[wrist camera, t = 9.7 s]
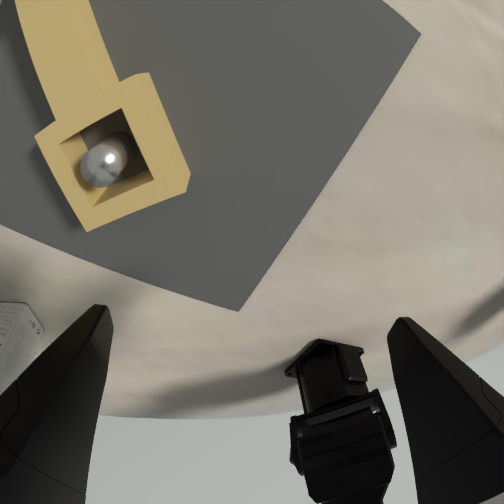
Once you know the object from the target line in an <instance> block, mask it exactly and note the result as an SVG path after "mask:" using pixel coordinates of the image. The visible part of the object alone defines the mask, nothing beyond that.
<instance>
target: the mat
mask: <svg viewBox="0 0 504 504" xmlns="http://www.w3.org/2000/svg"><path fill="white" fill-rule="evenodd" d="M89 3H90V6H91V9H92V12H93V14H94V17H95V20H96V23H97V26H98V28H99V31H100V34H101V36H102V39H103V42H104V44H105V47H106V49H107V52H108V55H109V57H110V60H111V62H112V65H113V67H114V70H115V72H116V75H117V77H118V80H119V82H121V81H123V80H125V79H127V78H129V77H131V76H133V75H135V74H141V73H148V72H149V74H150V76H151V79H152V81H153V84H154V86H155V89H156V91H157V94H158V96H159V99H160V101H161V103H162V106H163V108H164V111H165V113H166V116H167V118H168V120H169V123H170V125H171V128H172V130H173V133H174V135H175V137H176V140H177V142H178V144H179V147H180V149H181V152H182V154H183V156H184V159H185V161H186V163H187V166H188V168H189V170H190V173H191V175H190V178H189V182H188V186H187V189H186V192H185V193H182V194H180V195H177V196H174V197H171V198H169V199H166V200H163V201H161V202H158V203H156V204H153V205H151V206H148V207H145V208H143V209H140V210H138V211H135V212H133V213H130V214H128V215H126V216H123V217H121V218H118V219H116V220H114V221H111V222H109V223H107V224H104V225H102V226H100V227H97V228H95V229H93V230H91V231H88V232H86V230H85V229H84V227H83V225H82V224H81V222H80V221H79V219H78V217H77V216H76V214H75V212H74V211H73V209H72V207H71V206H70V204H69V202H68V200H67V199H66V197H65V195H64V193H63V192H62V190H61V188H60V186H59V184H58V182H57V181H56V179H55V177H54V175H53V173H52V171H51V169H50V167H49V165H48V163H47V162H46V160H45V158H44V156H43V154H42V151H41V149H40V147H39V145H38V143H37V141H36V139H35V137H34V136H35V135H36V134H38V133H39V132H40V131H42V130H43V129H44V128H46V127H47V126H49V125H50V124H51V123H53V122H54V121H56V119H55V117H54V115H53V112H52V110H51V108H50V105H49V103H48V100H47V98H46V96H45V93H44V91H43V88H42V86H41V83H40V80H39V78H38V75H37V72H36V70H35V67H34V64H33V61H32V58H31V55H30V52H29V49H28V46H27V43H26V40H25V37H24V34H23V30H22V27H21V23H20V20H19V16H18V12H17V8H16V4H15V0H2V3H1V5H0V224H2V225H4V226H6V227H8V228H10V229H13V230H15V231H17V232H19V233H22V234H24V235H26V236H28V237H31V238H33V239H35V240H38V241H40V242H42V243H45V244H47V245H49V246H52V247H54V248H57V249H59V250H62V251H64V252H67V253H69V254H71V255H74V256H77V257H79V258H82V259H84V260H87V261H89V262H92V263H95V264H97V265H100V266H102V267H105V268H108V269H110V270H113V271H116V272H119V273H121V274H124V275H127V276H130V277H132V278H135V279H138V280H141V281H144V282H147V283H150V284H153V285H155V286H158V287H161V288H164V289H167V290H170V291H173V292H176V293H179V294H182V295H186V296H189V297H192V298H195V299H198V300H201V301H205V302H208V303H211V304H214V305H218V306H221V307H224V308H227V309H231V310H234V311H238V312H239V310H240V309H241V308H242V306H243V305H244V303H245V302H246V301H247V299H248V298H249V296H250V295H251V293H252V292H253V291H254V289H255V288H256V286H257V285H258V283H259V282H260V281H261V279H262V278H263V276H264V275H265V273H266V272H267V270H268V269H269V268H270V266H271V265H272V263H273V262H274V260H275V259H276V257H277V256H278V255H279V253H280V252H281V250H282V249H283V247H284V246H285V244H286V243H287V241H288V240H289V239H290V237H291V236H292V234H293V233H294V231H295V230H296V228H297V227H298V225H299V224H300V222H301V221H302V219H303V218H304V216H305V215H306V213H307V212H308V210H309V209H310V207H311V206H312V205H313V203H314V202H315V200H316V199H317V197H318V196H319V194H320V193H321V191H322V190H323V188H324V187H325V185H326V184H327V182H328V180H329V179H330V177H331V176H332V174H333V173H334V171H335V170H336V168H337V167H338V165H339V164H340V162H341V161H342V159H343V158H344V156H345V155H346V153H347V152H348V150H349V148H350V147H351V145H352V144H353V142H354V141H355V139H356V138H357V136H358V135H359V133H360V131H361V130H362V128H363V127H364V125H365V124H366V122H367V121H368V119H369V117H370V116H371V114H372V113H373V111H374V110H375V108H376V106H377V105H378V103H379V102H380V100H381V98H382V97H383V95H384V94H385V92H386V90H387V89H388V87H389V86H390V84H391V82H392V81H393V79H394V78H395V76H396V74H397V73H398V71H399V70H400V68H401V66H402V65H403V63H404V61H405V60H406V58H407V57H408V55H409V53H410V52H411V50H412V48H413V47H414V45H415V43H416V42H417V40H418V38H419V37H420V35H421V33H420V32H419V31H418V30H417V29H415V28H414V27H413V26H412V25H411V24H410V23H409V22H408V21H407V20H405V19H404V18H403V17H402V16H401V15H400V14H398V13H397V12H396V11H395V10H394V9H392V8H391V7H390V6H389V5H387V4H386V3H385V2H384V1H382V0H89ZM117 131H123V132H126V133H128V134H130V135H131V136H132V137H133V139H134V140H135V143H136V153H135V155H134V157H133V158H132V159H131V161H130V162H129V163H128V164H127V165H126V167H125V168H124V169H123V170H122V171H121V173H120V174H119V175H118V176H117V177H116V179H115V180H114V181H113V182H112V183H111V184H110V185H108V186H106V187H107V188H108V187H110V186H112V185H114V184H116V183H118V182H120V181H123V180H125V179H127V178H129V177H131V176H134V175H136V174H138V173H141V172H143V171H145V170H148V169H149V168H148V165H147V163H146V161H145V159H144V157H143V155H142V153H141V150H140V148H139V146H138V144H137V142H136V139H135V137H134V135H133V133H132V131H131V128H130V126H129V124H128V122H127V119H126V117H125V115H124V112H123V110H122V108H121V109H119V110H117V111H115V112H113V113H111V114H109V115H107V116H105V117H104V118H102V119H100V120H98V121H96V122H95V123H93V124H91V125H89V126H88V127H86V128H84V129H83V130H81V131H79V132H80V135H81V137H82V139H83V141H84V143H85V145H86V147H87V149H88V151H89V150H90V149H92V148H93V147H94V146H96V145H97V144H98V143H100V142H101V141H102V140H104V139H105V138H106V137H108V136H109V135H111V134H112V133H114V132H117Z"/></svg>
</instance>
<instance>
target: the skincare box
mask: <svg viewBox="0 0 504 504" xmlns="http://www.w3.org/2000/svg"><path fill="white" fill-rule="evenodd" d="M43 333H44V330H43V328H42V327H41V325H40V323H39V322H38V320H37V319H36V317H35V316H34V314H33V313H32V311H31V310H30V308H29V307H28V305H27V304H23V303H6V302H0V395H1V394H2V393H3V392H4V391H5V390H6V389H7V388H8V387H9V386H10V384H11V383H12V382H13V381H14V380H15V379H17V377H18V376H19V375H20V374H21V373H22V372H23V371H24V370H25V369H26V368H27V367H28V366H29V365H30V364H31V363H32V361H33V359H34V356H35V353H36V351H37V348H38V346H39V343H40V341H41V338H42V336H43Z"/></svg>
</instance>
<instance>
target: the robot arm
mask: <svg viewBox="0 0 504 504" xmlns="http://www.w3.org/2000/svg"><path fill="white" fill-rule="evenodd" d="M112 336H113V323H112V319H111V315H110V311H109V308H108V307H107V306H106V305H99V304H94V305H93V306H91V307H90V308H89V309H88V310H87V311H86V312H85V313H84V314H83V315H82V316H80V317H79V318H78V319H77V320H76V321H75V322H74V323H73V324H72V325H71V326H70V327H68V328H67V329H66V330H65V331H64V332H63V333H62V334H61V335H60V336H59V337H58V338H57V339H56V340H55V341H54V342H53V343H52V344H50V345H49V346H48V347H47V348H46V349H45V350H44V351H43V352H42V353H41V354H40V355H39V356H38V357H37V358H36V359H35V360H34V361H33V362H32V363H31V364H30V365H29V366H28V367H27V368H26V369H25V370H24V371H23V372H22V373H21V374H20V375H19V376H18V377H17V379H15V380H14V381H13V382H12V383H11V384H10V386H9V387H8V388H7V389H6V390H5V391H4V392H3V393H2V394H1V395H0V504H85V499H86V495H85V494H86V488H87V479H88V472H89V465H90V458H91V451H92V445H93V440H94V434H95V429H96V423H97V418H98V413H99V409H100V404H101V399H102V395H103V391H104V386H105V382H106V377H107V371H108V363H109V356H110V349H111V342H112ZM387 342H388V347H389V353H390V359H391V364H392V370H393V376H394V381H395V385H396V389H397V393H398V397H399V401H400V404H401V409H402V413H403V418H404V422H405V427H406V432H407V437H408V441H409V446H410V452H411V458H412V463H413V469H414V476H415V483H416V490H417V498H418V504H504V397H503V396H502V395H501V394H499V393H498V392H497V391H496V390H495V389H493V388H492V387H491V386H490V385H489V384H488V383H486V382H485V381H484V380H483V379H482V378H481V377H479V375H477V374H476V373H475V372H474V371H473V370H472V369H470V368H469V367H468V366H467V365H466V364H465V363H464V362H463V361H461V360H460V359H459V358H458V357H457V356H456V355H454V354H453V353H452V352H451V351H450V350H449V349H447V348H446V347H445V346H444V345H443V344H441V343H440V342H439V341H438V340H437V339H435V338H434V337H433V336H432V335H431V334H429V333H428V332H427V331H426V330H425V329H423V328H422V327H421V326H420V325H418V324H417V323H416V322H415V321H414V320H412V319H411V318H410V317H399V318H397V320H396V321H395V323H394V324H393V326H392V328H391V329H390V331H389V332H388V335H387ZM363 353H364V350H363V348H360V347H355V346H351V345H346V344H341V343H337V342H332V341H328V340H323V339H320V340H317V341H316V342H315V343H314V344H313V345H312V346H311V347H310V348H309V349H308V350H307V351H306V352H305V353H304V354H303V355H301V356H300V357H299V358H298V359H297V360H296V361H295V362H294V363H293V364H292V365H291V366H290V367H289V368H288V369H286V370H285V376H287V377H293V378H297V380H298V385H299V390H300V395H301V400H302V405H303V410H304V414H302V415H299V416H296V415H295V416H292V417H291V423H290V424H289V425H290V439H291V449H290V462H291V463H292V464H293V465H295V467H296V469H297V471H298V473H299V474H300V475H301V476H303V475H304V477H305V480H306V484H307V488H308V494H309V496H310V497H311V498H312V499H313V500H314V501H315V502H316V503H317V504H318V503H321V504H383V498H384V495H385V493H386V490H387V488H388V485H389V483H390V482H391V479H392V475H393V471H394V461H393V457H392V454H391V450H390V449H393V448H395V447H396V446H397V443H396V438H395V434H394V430H393V427H392V424H391V421H390V418H389V416H388V413H387V411H386V408H385V405H384V403H383V401H382V398H381V395H380V393H379V390H378V388H377V389H375V390H372V392H369V391H368V388H367V385H366V382H367V380H368V379H367V375H366V372H365V370H364V367H363V364H362V361H361V359H360V356H361V355H362V354H363ZM375 410H376V413H374V414H373V411H375Z"/></svg>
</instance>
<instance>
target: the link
mask: <svg viewBox="0 0 504 504" xmlns="http://www.w3.org/2000/svg"><path fill="white" fill-rule="evenodd" d="M15 4H16V8H17V12H18V16H19V20H20V23H21V27H22V30H23V34H24V37H25V40H26V43H27V46H28V49H29V52H30V55H31V58H32V61H33V64H34V67H35V70H36V72H37V75H38V78H39V80H40V83H41V86H42V88H43V91H44V93H45V96H46V98H47V100H48V103H49V105H50V108H51V110H52V112H53V115H54V117H55V119H56V121H54V122H53V123H51V124H50V125H49V126H47V127H46V128H44V129H43V130H42V131H40V132H39V133H38V134H36V135H35V136H34V137H35V139H36V141H37V143H38V145H39V147H40V149H41V151H42V154H43V156H44V158H45V160H46V162H47V163H48V165H49V167H50V169H51V171H52V173H53V175H54V177H55V179H56V181H57V182H58V184H59V186H60V188H61V190H62V192H63V193H64V195H65V197H66V199H67V200H68V202H69V204H70V206H71V207H72V209H73V211H74V212H75V214H76V216H77V217H78V219H79V221H80V222H81V224H82V225H83V227H84V229H85V230H86V232H88V231H91V230H93V229H95V228H97V227H100V226H102V225H104V224H107V223H109V222H111V221H114V220H116V219H118V218H121V217H123V216H126V215H128V214H130V213H133V212H135V211H138V210H140V209H143V208H145V207H148V206H151V205H153V204H156V203H158V202H161V201H163V200H166V199H169V198H171V197H174V196H177V195H180V194H182V193H185V192H186V189H187V186H188V182H189V178H190V175H191V173H190V170H189V168H188V166H187V163H186V161H185V159H184V156H183V154H182V152H181V149H180V147H179V144H178V142H177V140H176V137H175V135H174V133H173V130H172V128H171V125H170V123H169V120H168V118H167V116H166V113H165V111H164V108H163V106H162V103H161V101H160V99H159V96H158V94H157V91H156V89H155V86H154V84H153V81H152V79H151V76H150V74H149V72H148V73H141V74H135V75H133V76H131V77H129V78H127V79H125V80H123V81H121V82H119V80H118V77H117V75H116V72H115V70H114V67H113V65H112V62H111V60H110V57H109V55H108V52H107V49H106V47H105V44H104V42H103V39H102V36H101V34H100V31H99V28H98V26H97V23H96V20H95V17H94V14H93V12H92V9H91V6H90V3H89V0H15ZM121 108H122V110H123V112H124V115H125V117H126V119H127V122H128V124H129V126H130V128H131V131H132V133H133V135H134V137H135V139H136V142H137V144H138V146H139V148H140V150H141V153H142V155H143V157H144V159H145V161H146V163H147V165H148V168H149V169H148V170H145V171H143V172H141V173H138V174H136V175H134V176H131V177H129V178H127V179H125V180H123V181H120V182H118V183H116V184H114V185H112V186H110V187H108V188H107V187H103V188H98V187H94V186H91V185H90V184H88V183H87V182H86V181H85V179H84V178H83V176H82V174H81V170H80V164H81V160H82V158H83V156H84V155H85V154H86V153H87V152H88V149H87V147H86V145H85V143H84V141H83V139H82V137H81V135H80V132H79V131H81V130H83V129H84V128H86V127H88V126H89V125H91V124H93V123H95V122H96V121H98V120H100V119H102V118H104V117H105V116H107V115H109V114H111V113H113V112H115V111H117V110H119V109H121Z"/></svg>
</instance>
